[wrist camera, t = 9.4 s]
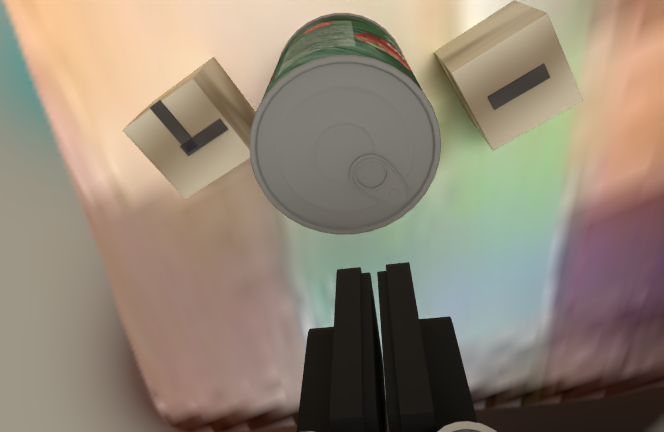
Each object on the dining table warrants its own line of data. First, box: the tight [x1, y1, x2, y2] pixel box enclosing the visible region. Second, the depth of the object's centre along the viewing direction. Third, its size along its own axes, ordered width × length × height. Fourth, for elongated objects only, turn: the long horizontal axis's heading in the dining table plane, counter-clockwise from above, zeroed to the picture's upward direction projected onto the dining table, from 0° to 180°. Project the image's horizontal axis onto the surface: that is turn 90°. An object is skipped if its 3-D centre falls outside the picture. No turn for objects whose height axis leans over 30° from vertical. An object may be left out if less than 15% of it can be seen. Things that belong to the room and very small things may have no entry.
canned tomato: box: [249, 13, 441, 234], centre depth 25 cm, size 8×8×11 cm
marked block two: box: [122, 57, 256, 199], centre depth 28 cm, size 5×5×5 cm
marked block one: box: [435, 0, 583, 150], centre depth 27 cm, size 5×5×5 cm
